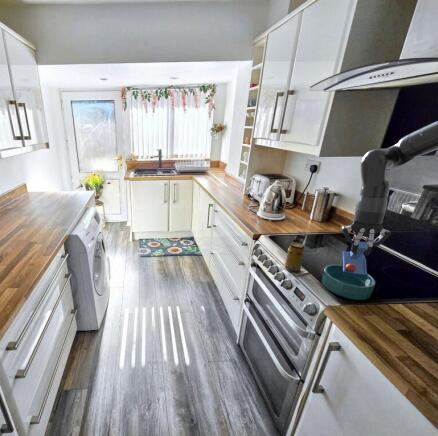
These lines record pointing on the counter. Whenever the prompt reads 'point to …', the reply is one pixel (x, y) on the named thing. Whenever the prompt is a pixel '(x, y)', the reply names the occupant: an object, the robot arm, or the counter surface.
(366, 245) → the blue base with post
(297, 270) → the condiment
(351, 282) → the teal ribbed bowl
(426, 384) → the counter surface
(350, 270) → the bead
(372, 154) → the robot arm
